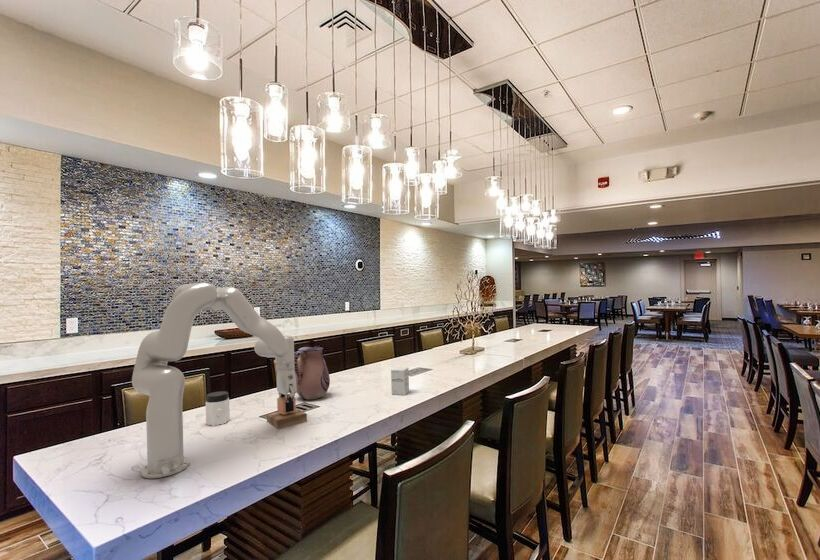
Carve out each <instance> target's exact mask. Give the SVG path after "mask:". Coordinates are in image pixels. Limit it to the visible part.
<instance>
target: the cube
mask: <svg viewBox="0 0 820 560" xmlns="http://www.w3.org/2000/svg"><path fill="white" fill-rule="evenodd" d="M288 398H289V396H288ZM276 402H277V403H276V404H277V405H276V406H277V412H279V413H281V414H287V413H291V412H295V411H296V409H297V403H296V397H294V401H293V403H294V411H291V412H286V406H285V402H286V397H281V398H279V397H277V398H276Z"/></svg>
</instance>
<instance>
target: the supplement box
mask: <svg viewBox="0 0 820 560" xmlns="http://www.w3.org/2000/svg"><path fill="white" fill-rule="evenodd" d="M390 379H391V380H390V381H391V395H392V396H394V395H395V396H397V395H398V396H406V395H407V394H409V392H410V382H409V381H410V380H409V379H410V378H409V367H404V366H403V367H401V366H400V367H398V366H395V367H393V368H392V369H391V370H390Z"/></svg>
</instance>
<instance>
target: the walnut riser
mask: <svg viewBox="0 0 820 560" xmlns="http://www.w3.org/2000/svg"><path fill="white" fill-rule="evenodd" d="M307 421H308V415H307V413H306V412H304V411H302V410H300V409H298V408H296V411H295V412H291V413H287V414H281V413H279V412H278V411H276V412H272V413H268V414H266V422H267V423H268V422H269V424H270V425H271V426H273V427H275V428H276V429H283V428H287V427H290V426H294V425H297V424H302V423H305V422H307Z"/></svg>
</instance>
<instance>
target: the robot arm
mask: <svg viewBox="0 0 820 560" xmlns="http://www.w3.org/2000/svg"><path fill="white" fill-rule="evenodd" d="M200 311H223V312H225V314H226V315H227V317H229V318H230V320H231V321H232V322H233V323H234V325H235V326H236V327H237V328H238V329H239V330H240V331H242V332H244V333H246V334H249V335H251V336H253V337H256V338H258V340H257V341H256V342H255V344H254V348H253V349H254V350H253V351H254V352H255V353H256V354H257V356H259V357H264V358H274V359H275V362H274V363H275V371H276V392H278V398H281V397H286V402H285V406H286V412H291V411H294V403H293V401H294V398H295V396H296V394H297V386H296V376H295V374H296V373H295V370H294V369H295V361H294V355H295V339H294V336H292V335H284V334H283V333H282V331H280V329H278V328H277V326H275V325H274V324H272V323H271V322H270V321H268V320H267V319H265V318H264V317H263V316H261V315H260V314H258V312H257V310H256V309H255V308H254V307H253V306H252V305H251V303H250V302H249V301H248V299H247V297H245V295H244V294H243V293H242V291H241V290H239V289H238V288H236V287H231V286H226V287H216V285H214V284H213V283H209V282H195V283H194V282H193V283H186V284H182V285H179V286H178V287H177V288H176V289H175V290H174V292H173V299H172V300H171V301H170V302H169V304H168V305H167V306H166V309H165V312H164V315H163V317H162V320H161V321H162V322H161V325H160V328H159V330H155V331H152V332H149V333H148V334H147V335H146V336H145V337H143V339H142V340H141V342H140V345H139V348H138V351H137V355H136V359H135V363H134V366H133V367H134V368H133V371H132V376H131V384H132V387H133V389H134V390H135V392H137V393H139V394H142V395H145V396H148V397H149V398H148V402H147V406H146V411H145V421H146V424H145V425H146V458H147V459H146V460H147V461H146V463H147V464H146V465H145V466H144V467H143V468H142V469H141V471H140V473H141V474H140V475H141V477H142V478H145V479H159V478H165V477H169V476H172V475H175V474H178V473H180V472H182V471H184V470H185V469H187V468H188V467H189V465H190V459H189V458H188V457H186V456H185V455H184V454H185V452H184V451H185V450H184V421H183V420H184V419H183V418H184V417H183V413H184V412H183V402H184V401H183V399H184V392H185V387H186V379H185V375H184V373H183V372H182V371H181V370H180V369H179V368H177V367H175V366H171V365H168V363H169V362H176V361H180V360H181V359H182V358H184V357H185V355H186V353H187V351H188V346H189V341H190V337H191V331H192V327H193V324H194V321H195V318H196V317H197V315H198V314H199V313H200ZM288 396H289V398H288Z"/></svg>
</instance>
